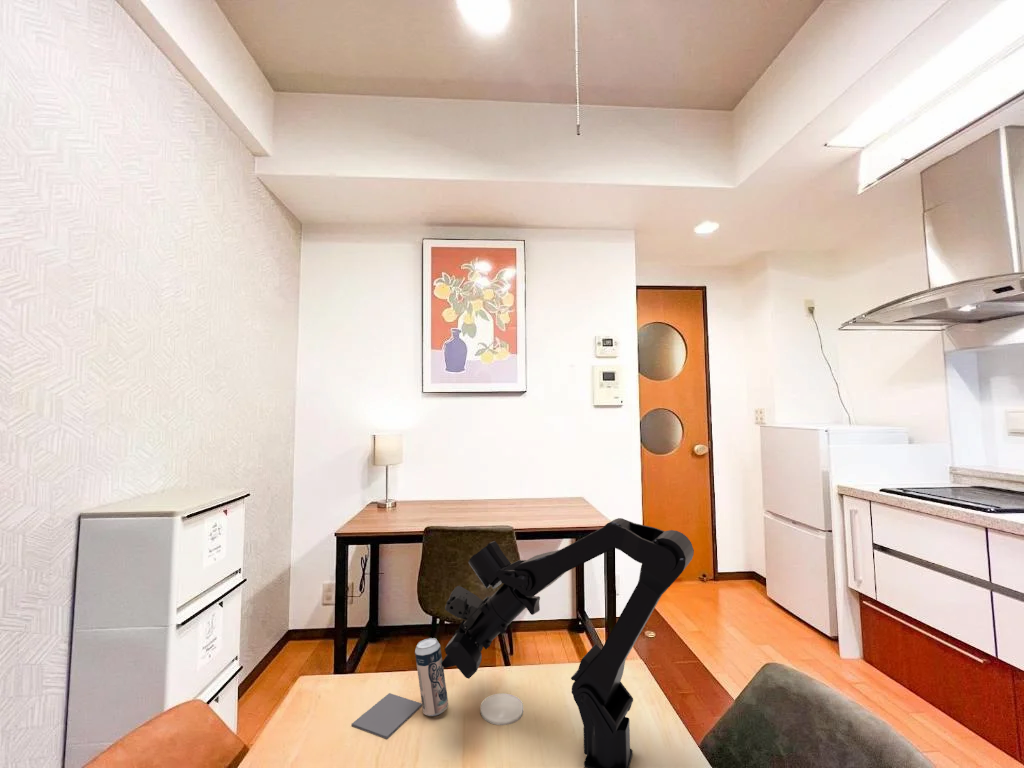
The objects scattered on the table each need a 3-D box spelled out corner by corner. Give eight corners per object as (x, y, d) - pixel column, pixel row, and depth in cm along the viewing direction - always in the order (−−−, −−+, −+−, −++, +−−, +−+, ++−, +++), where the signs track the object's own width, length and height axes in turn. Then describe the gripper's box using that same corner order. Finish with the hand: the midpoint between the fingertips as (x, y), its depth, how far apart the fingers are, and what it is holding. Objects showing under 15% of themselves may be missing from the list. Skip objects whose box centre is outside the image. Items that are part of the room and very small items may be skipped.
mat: (422, 705, 85) (422, 703, 85) (387, 739, 76) (387, 736, 76) (389, 695, 88) (389, 693, 89) (351, 726, 79) (351, 723, 80)
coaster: (529, 704, 86) (529, 699, 86) (512, 730, 78) (512, 725, 78) (492, 693, 89) (492, 689, 89) (472, 717, 82) (472, 712, 82)
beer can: (443, 718, 80) (434, 648, 82) (418, 719, 81) (410, 650, 83) (452, 701, 85) (443, 636, 86) (428, 702, 86) (420, 637, 87)
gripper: (483, 560, 94) (432, 610, 95) (457, 593, 75) (394, 655, 76) (520, 602, 91) (468, 653, 92) (502, 647, 73) (437, 710, 74)
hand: (443, 665), depth 84 cm, fingers closed
